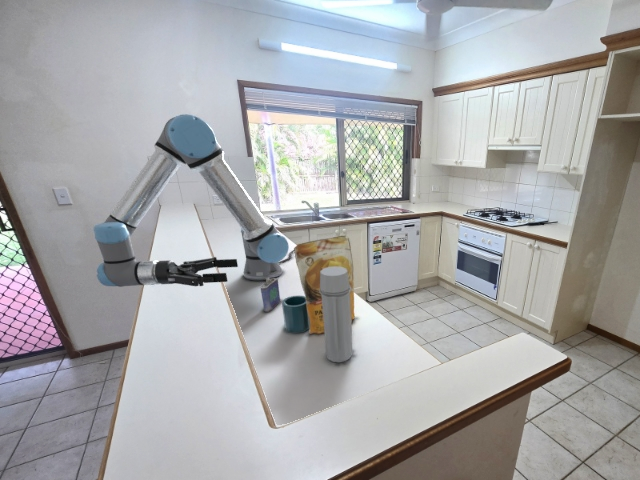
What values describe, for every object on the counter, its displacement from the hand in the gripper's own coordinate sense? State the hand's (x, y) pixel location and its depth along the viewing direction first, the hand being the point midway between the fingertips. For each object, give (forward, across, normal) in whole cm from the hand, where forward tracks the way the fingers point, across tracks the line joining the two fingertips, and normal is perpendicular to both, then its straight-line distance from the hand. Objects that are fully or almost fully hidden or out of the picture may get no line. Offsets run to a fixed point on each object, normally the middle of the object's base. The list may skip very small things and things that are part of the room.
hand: (232, 269), depth 108 cm
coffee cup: (+21, +16, -14) cm, 30 cm away
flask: (+11, 0, -14) cm, 18 cm away
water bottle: (+33, +35, -14) cm, 50 cm away
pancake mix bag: (+31, +17, -14) cm, 38 cm away
